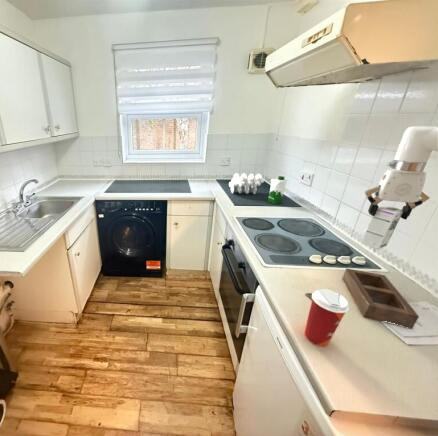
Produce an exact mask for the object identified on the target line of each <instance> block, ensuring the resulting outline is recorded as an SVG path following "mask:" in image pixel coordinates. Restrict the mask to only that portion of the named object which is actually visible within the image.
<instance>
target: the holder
mask: <svg viewBox="0 0 438 436" xmlns="http://www.w3.org/2000/svg"><path fill="white" fill-rule="evenodd" d="M342 281H343V283H344V284H345V286H346V288H347V290H348V292H349V294H350V295H351V297H352V299H353V301H354V302H355V304H356V306H357V308H358V310H359V311H360V313H361V315H362V318H365V319H369V320H374V321H376V322H377V321H378V322H382V321H387V322H391V323H395V324H398V325H402V326H404V327H403V328H406V327H408V329H411V330H412V329H413V328H414V326H415V325H416V323H417V321H418V319H419V318H420V316H419V314H418V313H417V312H416V311H415V309H414V308H413V307H412V306H411V305H410V304H409V302H408V301H407V300H406V298H405V297H404V296H403V295H402V294H401V293H400V291H398V289H397V288H396V287H395V286H394V285H393V283H392V282H391V281H390V280H389V278H388V277H387V276H386V275H385V274H380V273H376V272H375V273H374V272H368V271H363V270H358V269H352V268H345V272H344V273H343V276H342ZM382 323H383V322H382ZM398 325H397V326H398ZM402 326H401V327H402Z"/></svg>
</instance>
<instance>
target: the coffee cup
mask: <svg viewBox="0 0 438 436" xmlns="http://www.w3.org/2000/svg"><path fill="white" fill-rule="evenodd" d="M312 293H313V294H312V299H311V303H310V307H309V311H308V315H307V319H306V323H305V327H304V337H305V338H306V340H307V341H308V342H309V343H312V345H315V346H318V347H327V346H328V345H329V343H330V341H331V340H332V338H333V336H334V334H335V332H336V331H337V329H338V327H339V325H340V324H341V322H342V319H343V318H344V315H345V314H346V313H348V312H349V310H350V307H349V302H348V300H347V298H345V296H344V295H342V294H341V293H338V292H336V291H334V290H331V289H326V288H319V289H317V290H315V291H314V292H312Z"/></svg>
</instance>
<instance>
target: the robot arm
mask: <svg viewBox="0 0 438 436" xmlns="http://www.w3.org/2000/svg"><path fill="white" fill-rule="evenodd" d="M401 137H402V138H401V140H400V143H399V145H398V148H397V150H396V153H395V156H394V158H393V159H392V161H388V162H387V163H386V167H389V168H388V169H387V170H386V171H385V173H383V176H382V177H381V179H380V181H379V183H378V185H377V186H375V187H372V188H370V189H367V190H364V195H365V197H366V199H367V201H368V202H369V203H370V204H369V207H368V210H367V212H368V214H369V216H371V217H372V216H375V214H376V212H377V209H378V207H379V204H380V203H381V202H383V201H387V202H398V203H399V202H400V203H405V205H403V206H402V208H401V210H403V214H402V216H401V217H400V219H402V220H407V219H408V217H410V215H411V213H412V211H413V210H414V209H416V208H417V207H419V206H420V205H422V204H423V203H425V202H427V201H429V199H430V196H428V195H427V194H426V193H424V192H423V189H424V186H425V184H426V183H425V182H426V178H427V177H426V176H427V172H425V168H426V166H427V163H428V161H429V159H430V157H431V154H432V152H438V126H434V125H413V126H409V127H407V128H406V129H405V131H404V132H403V135H402V136H401ZM372 194H374V197H373V196H372Z"/></svg>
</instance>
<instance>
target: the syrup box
mask: <svg viewBox="0 0 438 436" xmlns="http://www.w3.org/2000/svg"><path fill="white" fill-rule="evenodd" d="M402 214H403V210H402V209H400V208H397V207H394V206H388V205H382V206H378V209H377V212H376V214H375V216H371V218H370V219H369V222H368V224H367V227H366V229H365V231H364V233H363V236H362V238H361V240H360V243H361V244H364V245H366V246H369V247H371V248H374V249H377V250H380V249H383V248H386V247H387V245H388V244H389V242H390V239H391V237H392V235H393V234H394V231H395V230H396V228H397V226H398V224H399V221H400V219H401V216H402Z"/></svg>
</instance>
